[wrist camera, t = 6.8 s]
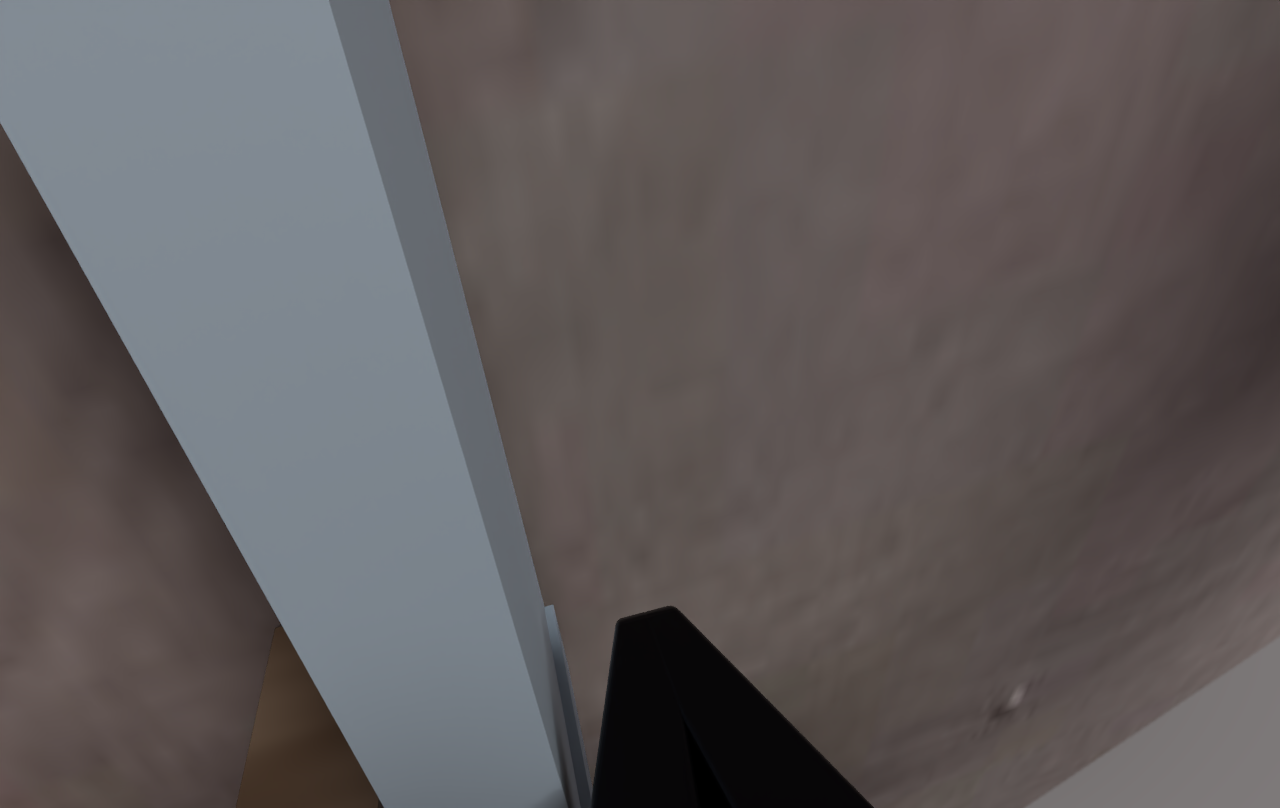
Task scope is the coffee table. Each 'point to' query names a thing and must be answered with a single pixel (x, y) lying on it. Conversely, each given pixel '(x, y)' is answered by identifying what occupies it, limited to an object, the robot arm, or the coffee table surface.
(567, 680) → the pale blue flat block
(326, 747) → the brown rectangular block
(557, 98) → the coffee table surface
